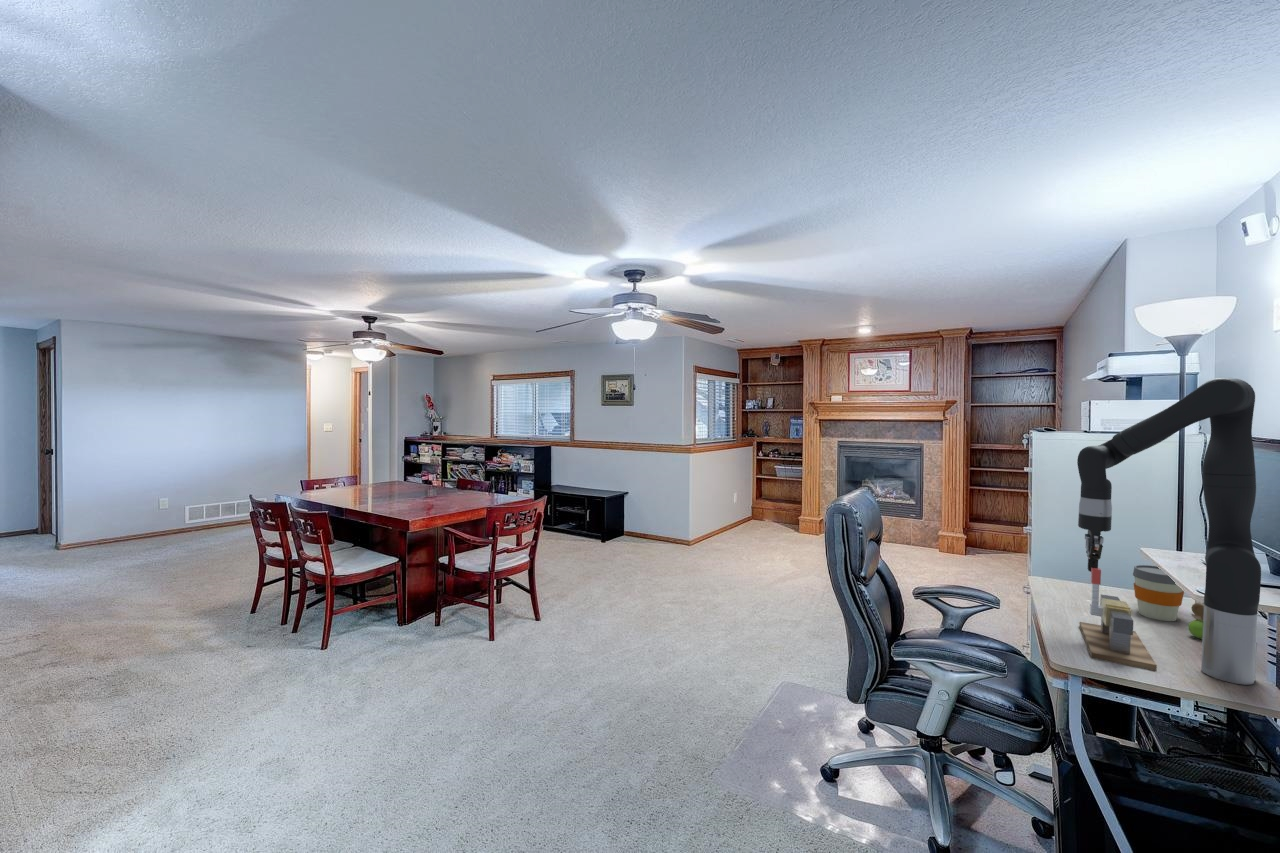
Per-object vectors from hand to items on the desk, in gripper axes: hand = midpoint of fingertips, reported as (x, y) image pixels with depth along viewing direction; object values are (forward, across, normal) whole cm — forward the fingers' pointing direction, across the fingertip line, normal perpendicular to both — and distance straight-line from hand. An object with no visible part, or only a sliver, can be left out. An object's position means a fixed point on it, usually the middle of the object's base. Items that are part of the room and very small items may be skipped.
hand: (1092, 571), depth 164 cm
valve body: (+18, -6, -5) cm, 19 cm away
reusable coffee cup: (+19, +33, -21) cm, 43 cm away
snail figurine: (+19, +15, -28) cm, 37 cm away
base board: (+19, -6, -5) cm, 21 cm away
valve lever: (+11, -6, 0) cm, 13 cm away
